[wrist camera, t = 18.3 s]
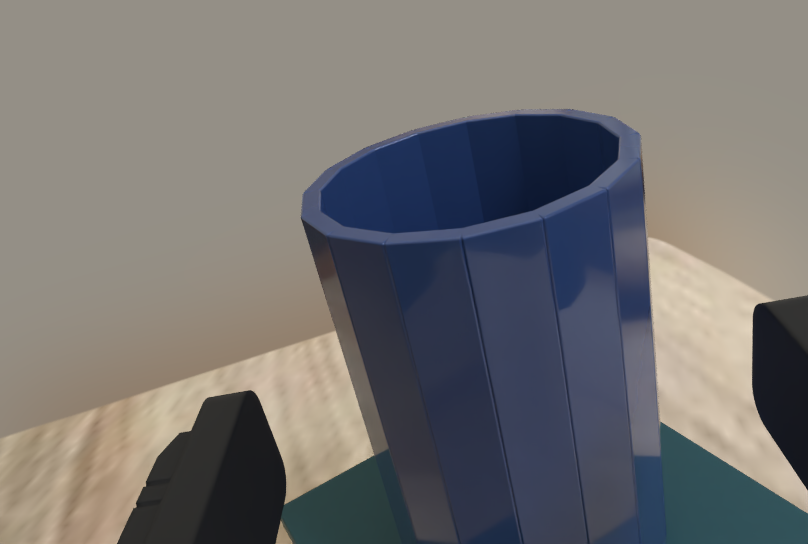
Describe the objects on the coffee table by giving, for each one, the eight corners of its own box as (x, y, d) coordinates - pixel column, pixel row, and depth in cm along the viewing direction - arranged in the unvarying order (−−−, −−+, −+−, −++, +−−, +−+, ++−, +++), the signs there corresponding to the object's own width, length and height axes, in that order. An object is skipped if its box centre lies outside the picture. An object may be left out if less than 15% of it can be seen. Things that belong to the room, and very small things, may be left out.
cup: (503, 703, 15) (396, 285, 10) (366, 512, 20) (258, 186, 16) (728, 538, 17) (723, 135, 12) (551, 407, 22) (502, 95, 18)
